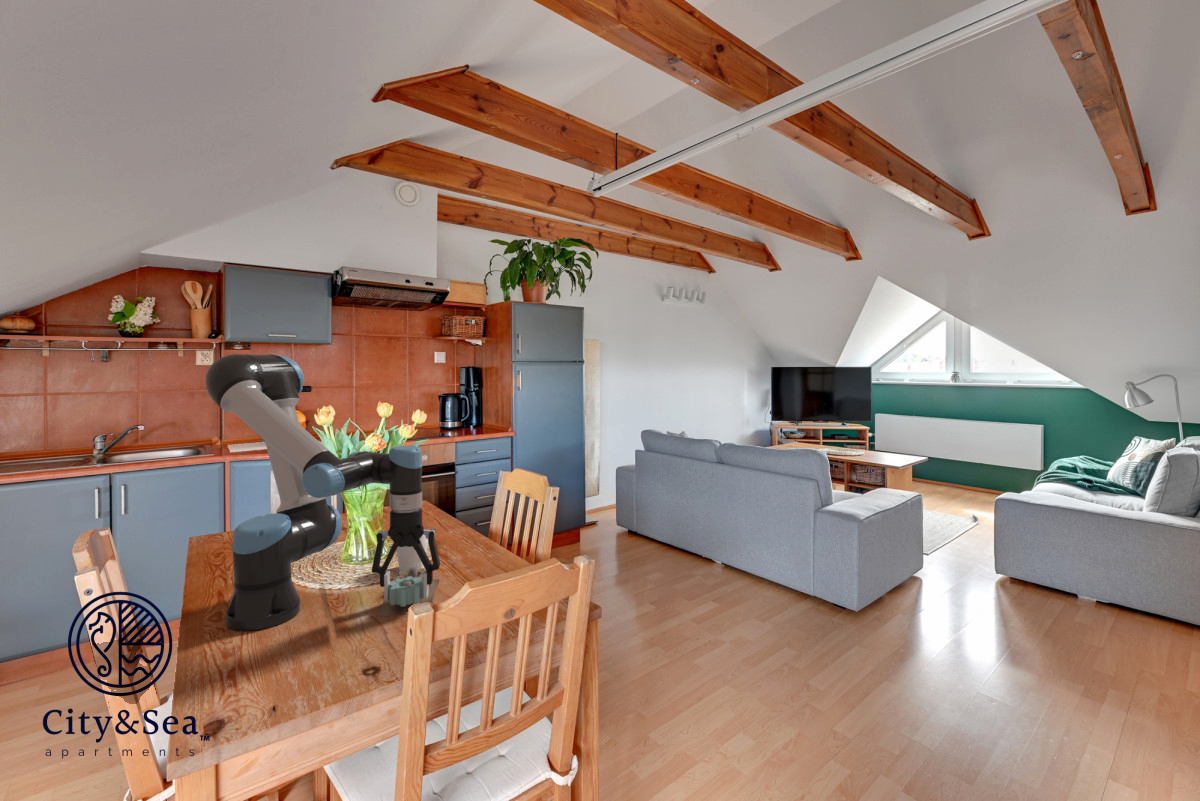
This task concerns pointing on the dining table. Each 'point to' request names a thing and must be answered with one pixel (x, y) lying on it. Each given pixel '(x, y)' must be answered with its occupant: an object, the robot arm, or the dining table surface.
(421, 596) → the gear
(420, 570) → the gear
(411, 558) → the cup
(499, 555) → the dining table surface
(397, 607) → the gear board
